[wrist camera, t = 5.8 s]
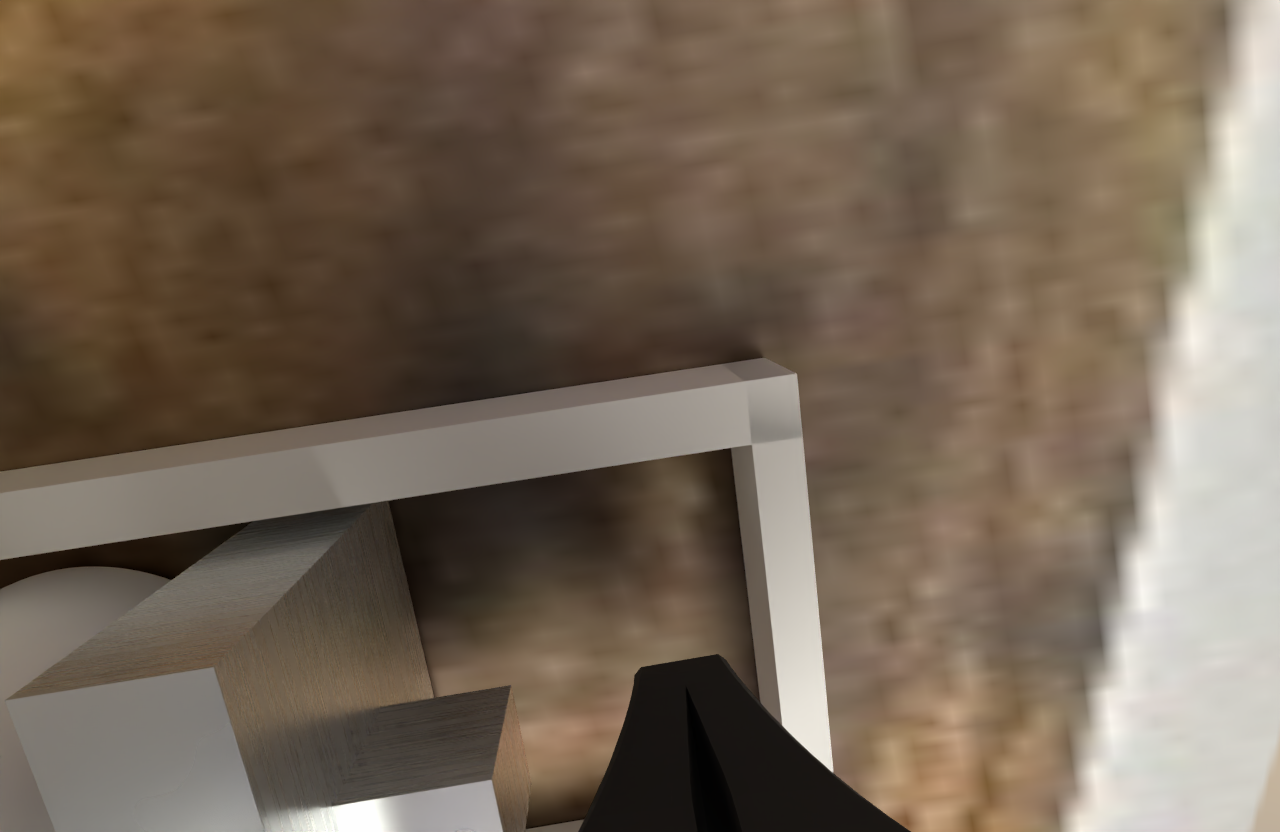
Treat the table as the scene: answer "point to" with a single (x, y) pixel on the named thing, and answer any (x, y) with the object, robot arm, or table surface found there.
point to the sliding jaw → (273, 701)
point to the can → (51, 658)
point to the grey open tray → (477, 456)
